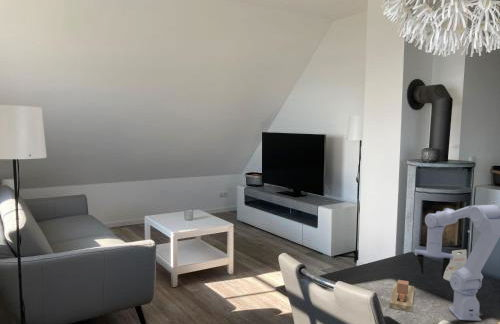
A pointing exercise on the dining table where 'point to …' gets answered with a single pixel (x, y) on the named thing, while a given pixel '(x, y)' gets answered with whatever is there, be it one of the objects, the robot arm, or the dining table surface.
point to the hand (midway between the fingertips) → (432, 273)
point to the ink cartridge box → (455, 263)
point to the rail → (408, 299)
